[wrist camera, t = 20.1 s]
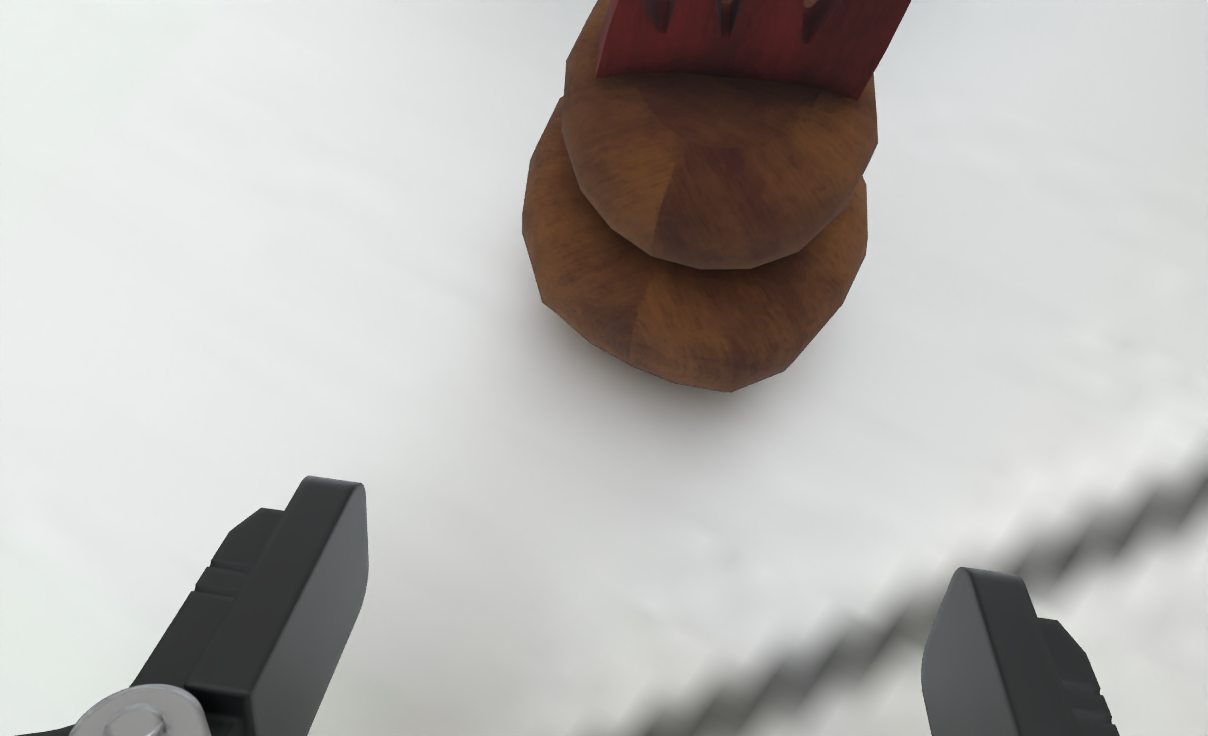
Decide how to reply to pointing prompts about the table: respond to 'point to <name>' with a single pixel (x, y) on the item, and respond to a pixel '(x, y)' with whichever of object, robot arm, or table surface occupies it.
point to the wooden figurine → (708, 180)
